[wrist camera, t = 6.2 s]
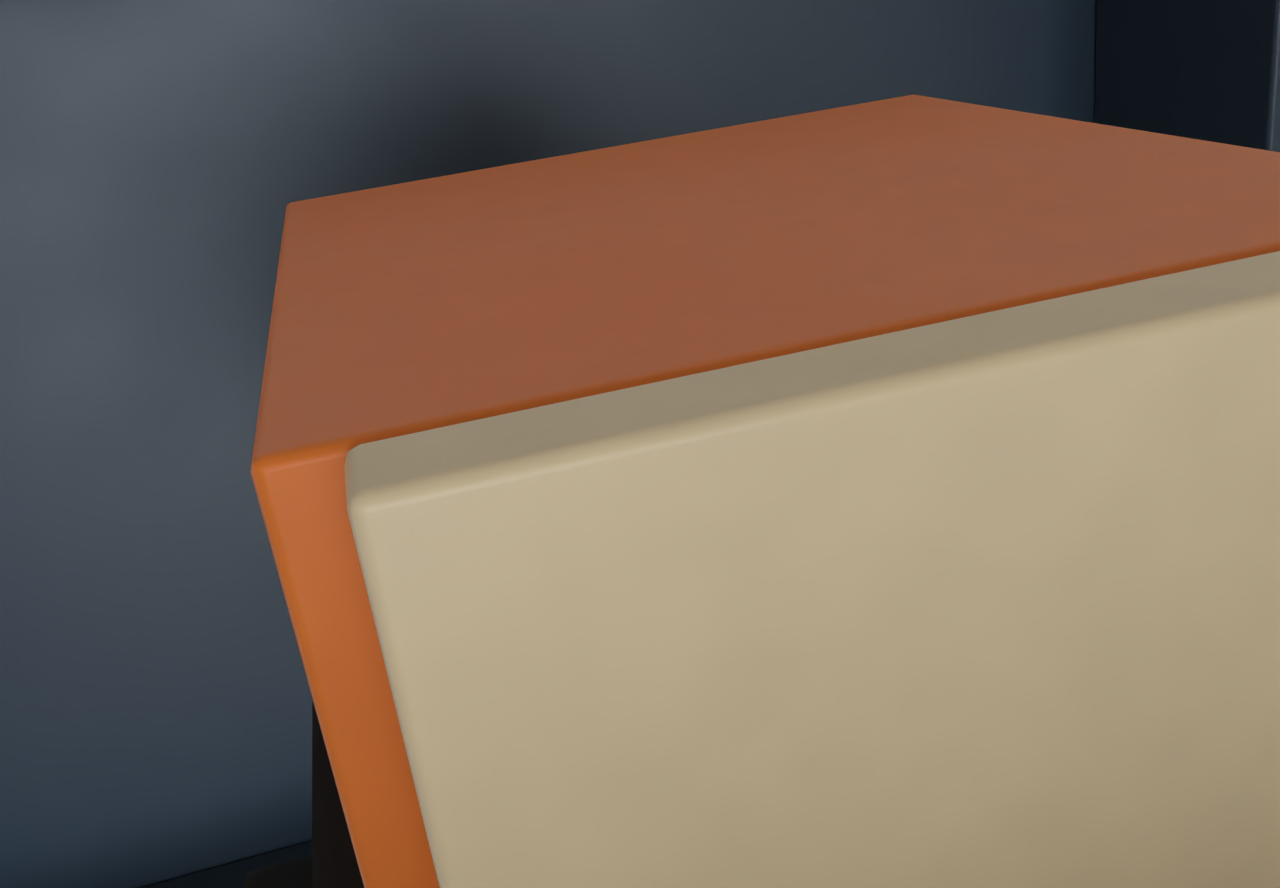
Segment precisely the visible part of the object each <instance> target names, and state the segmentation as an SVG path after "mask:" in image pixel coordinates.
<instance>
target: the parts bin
mask: <svg viewBox="0 0 1280 888" xmlns="http://www.w3.org/2000/svg"><path fill="white" fill-rule="evenodd" d="M913 94H914V95H920V96H926V97H933V98H939V99H945V100H952V101H958V102H964V103H971V104H977V105H983V106H990V107H996V108H1002V109H1009V110H1015V111H1021V112H1028V113H1034V114H1040V115H1047V116H1053V117H1059V118H1066V119H1072V120H1078V121H1085V122H1091V123H1097V124H1104V125H1110V126H1116V127H1123V128H1129V129H1135V130H1142V131H1148V132H1154V133H1160V134H1167V135H1173V136H1179V137H1186V138H1192V139H1198V140H1205V141H1211V142H1217V143H1224V144H1230V145H1236V146H1243V147H1249V148H1255V149H1262V150H1268V151H1274V152H1280V0H0V888H242V886H243V880H244V876H245V875H246V874H247V872H248V871H252V870H255V869H259V868H263V867H266V866H270V865H274V864H278V863H281V862H285V861H289V860H293V859H296V858H300V857H304V856H308V855H311V854H312V703H313V699H312V695H311V691H310V688H309V684H308V680H307V677H306V673H305V669H304V666H303V662H302V658H301V655H300V651H299V648H298V644H297V640H296V637H295V633H294V629H293V626H292V622H291V618H290V615H289V611H288V607H287V604H286V600H285V596H284V593H283V589H282V586H281V582H280V578H279V575H278V571H277V567H276V564H275V560H274V556H273V553H272V549H271V545H270V542H269V538H268V534H267V531H266V527H265V523H264V520H263V516H262V513H261V509H260V505H259V502H258V498H257V494H256V491H255V487H254V483H253V480H252V476H251V472H250V470H251V463H252V455H253V448H254V440H255V433H256V426H257V418H258V411H259V404H260V396H261V389H262V381H263V374H264V367H265V359H266V352H267V345H268V337H269V330H270V322H271V315H272V308H273V300H274V293H275V286H276V278H277V271H278V263H279V256H280V249H281V241H282V234H283V227H284V219H285V212H286V206H287V205H288V204H290V203H291V202H296V201H302V200H307V199H313V198H319V197H325V196H331V195H336V194H342V193H348V192H354V191H359V190H365V189H371V188H377V187H382V186H388V185H394V184H400V183H406V182H411V181H417V180H423V179H429V178H434V177H440V176H446V175H452V174H457V173H463V172H469V171H475V170H481V169H486V168H492V167H498V166H504V165H509V164H515V163H521V162H527V161H532V160H538V159H544V158H550V157H555V156H561V155H567V154H573V153H579V152H584V151H590V150H596V149H602V148H607V147H613V146H619V145H625V144H630V143H636V142H642V141H648V140H654V139H659V138H665V137H671V136H677V135H682V134H688V133H694V132H700V131H705V130H711V129H717V128H723V127H729V126H734V125H740V124H746V123H752V122H757V121H763V120H769V119H775V118H780V117H786V116H792V115H798V114H804V113H809V112H815V111H821V110H827V109H832V108H838V107H844V106H850V105H855V104H861V103H867V102H873V101H879V100H884V99H890V98H896V97H902V96H907V95H913Z"/></svg>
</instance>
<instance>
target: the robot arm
mask: <svg viewBox="0 0 1280 888" xmlns="http://www.w3.org/2000/svg"><path fill="white" fill-rule="evenodd" d="M242 888H364V885H363V881H362V877H361V874H360V870H359V866H358V863H357V859H356V856H355V852H354V848H353V845H352V841H351V837H350V834H349V830H348V826H347V823H346V819H345V815H344V812H343V808H342V804H341V801H340V797H339V793H338V790H337V786H336V783H335V779H334V775H333V772H332V768H331V764H330V761H329V757H328V753H327V750H326V746H325V742H324V739H323V735H322V731H321V728H320V724H319V721H318V717H317V713H316V710H315V706H314V702H313V703H312V854H311V855H308V856H304V857H300V858H296V859H293V860H289V861H285V862H281V863H278V864H274V865H270V866H266V867H263V868H259V869H255V870H252V871H248V872H247V874H246V875H245V876H244V880H243V886H242Z"/></svg>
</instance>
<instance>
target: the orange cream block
mask: <svg viewBox="0 0 1280 888" xmlns="http://www.w3.org/2000/svg"><path fill="white" fill-rule="evenodd" d="M250 472H251V476H252V480H253V483H254V487H255V491H256V494H257V498H258V502H259V505H260V509H261V513H262V516H263V520H264V523H265V527H266V531H267V534H268V538H269V542H270V545H271V549H272V553H273V556H274V560H275V564H276V567H277V571H278V575H279V578H280V582H281V586H282V589H283V593H284V596H285V600H286V604H287V607H288V611H289V615H290V618H291V622H292V626H293V629H294V633H295V637H296V640H297V644H298V648H299V651H300V655H301V658H302V662H303V666H304V669H305V673H306V677H307V680H308V684H309V688H310V691H311V695H312V699H313V702H314V706H315V710H316V713H317V717H318V721H319V724H320V728H321V731H322V735H323V739H324V742H325V746H326V750H327V753H328V757H329V761H330V764H331V768H332V772H333V775H334V779H335V783H336V786H337V790H338V793H339V797H340V801H341V804H342V808H343V812H344V815H345V819H346V823H347V826H348V830H349V834H350V837H351V841H352V845H353V848H354V852H355V856H356V859H357V863H358V866H359V870H360V874H361V877H362V881H363V885H364V888H1280V152H1274V151H1268V150H1262V149H1255V148H1249V147H1243V146H1236V145H1230V144H1224V143H1217V142H1211V141H1205V140H1198V139H1192V138H1186V137H1179V136H1173V135H1167V134H1160V133H1154V132H1148V131H1142V130H1135V129H1129V128H1123V127H1116V126H1110V125H1104V124H1097V123H1091V122H1085V121H1078V120H1072V119H1066V118H1059V117H1053V116H1047V115H1040V114H1034V113H1028V112H1021V111H1015V110H1009V109H1002V108H996V107H990V106H983V105H977V104H971V103H964V102H958V101H952V100H945V99H939V98H933V97H926V96H920V95H914V94H913V95H907V96H902V97H896V98H890V99H884V100H879V101H873V102H867V103H861V104H855V105H850V106H844V107H838V108H832V109H827V110H821V111H815V112H809V113H804V114H798V115H792V116H786V117H780V118H775V119H769V120H763V121H757V122H752V123H746V124H740V125H734V126H729V127H723V128H717V129H711V130H705V131H700V132H694V133H688V134H682V135H677V136H671V137H665V138H659V139H654V140H648V141H642V142H636V143H630V144H625V145H619V146H613V147H607V148H602V149H596V150H590V151H584V152H579V153H573V154H567V155H561V156H555V157H550V158H544V159H538V160H532V161H527V162H521V163H515V164H509V165H504V166H498V167H492V168H486V169H481V170H475V171H469V172H463V173H457V174H452V175H446V176H440V177H434V178H429V179H423V180H417V181H411V182H406V183H400V184H394V185H388V186H382V187H377V188H371V189H365V190H359V191H354V192H348V193H342V194H336V195H331V196H325V197H319V198H313V199H307V200H302V201H296V202H291V203H290V204H288V205H287V206H286V212H285V219H284V227H283V234H282V241H281V249H280V256H279V263H278V271H277V278H276V286H275V293H274V300H273V308H272V315H271V322H270V330H269V337H268V345H267V352H266V359H265V367H264V374H263V381H262V389H261V396H260V404H259V411H258V418H257V426H256V433H255V440H254V448H253V455H252V463H251V470H250Z"/></svg>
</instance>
